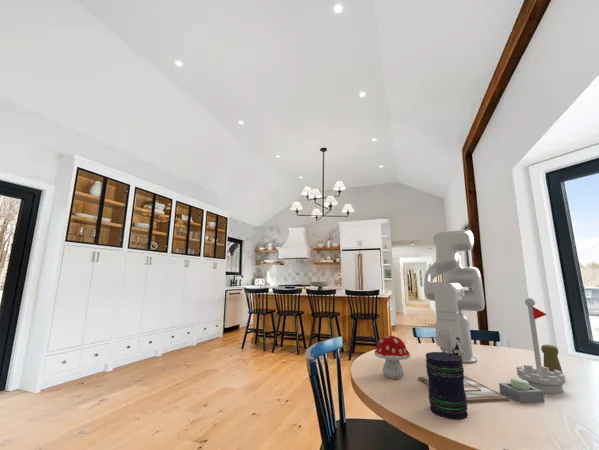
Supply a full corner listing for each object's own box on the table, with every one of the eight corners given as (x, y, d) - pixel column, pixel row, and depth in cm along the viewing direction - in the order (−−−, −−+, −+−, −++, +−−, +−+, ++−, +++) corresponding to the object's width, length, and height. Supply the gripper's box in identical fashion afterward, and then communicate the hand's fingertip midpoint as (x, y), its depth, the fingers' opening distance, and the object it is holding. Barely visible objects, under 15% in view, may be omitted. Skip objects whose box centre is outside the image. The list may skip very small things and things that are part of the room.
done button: (508, 390, 95) (507, 378, 95) (521, 390, 95) (519, 378, 96) (520, 396, 90) (518, 383, 91) (534, 395, 91) (532, 383, 91)
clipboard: (417, 379, 110) (417, 375, 110) (463, 377, 112) (462, 373, 112) (453, 403, 88) (452, 398, 88) (509, 400, 90) (508, 395, 90)
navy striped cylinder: (451, 423, 76) (445, 362, 79) (422, 408, 85) (417, 354, 88) (476, 415, 80) (470, 358, 83) (446, 402, 89) (441, 350, 92)
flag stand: (509, 382, 105) (498, 297, 110) (535, 378, 109) (524, 296, 114) (548, 397, 93) (535, 300, 98) (577, 391, 96) (562, 298, 101)
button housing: (500, 392, 96) (499, 383, 97) (522, 391, 97) (521, 382, 97) (520, 403, 88) (519, 392, 89) (544, 401, 89) (543, 391, 90)
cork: (567, 378, 110) (562, 347, 112) (549, 377, 111) (544, 346, 113) (557, 373, 115) (552, 343, 117) (540, 372, 117) (535, 343, 119)
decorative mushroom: (380, 369, 122) (378, 331, 125) (415, 374, 115) (412, 334, 118) (370, 379, 110) (368, 337, 113) (409, 385, 104) (405, 340, 106)
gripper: (426, 314, 116) (430, 363, 113) (451, 319, 100) (457, 377, 97) (443, 313, 117) (448, 362, 114) (471, 319, 101) (478, 376, 97)
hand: (452, 368), depth 105 cm, fingers closed on marker, 3 cm apart
